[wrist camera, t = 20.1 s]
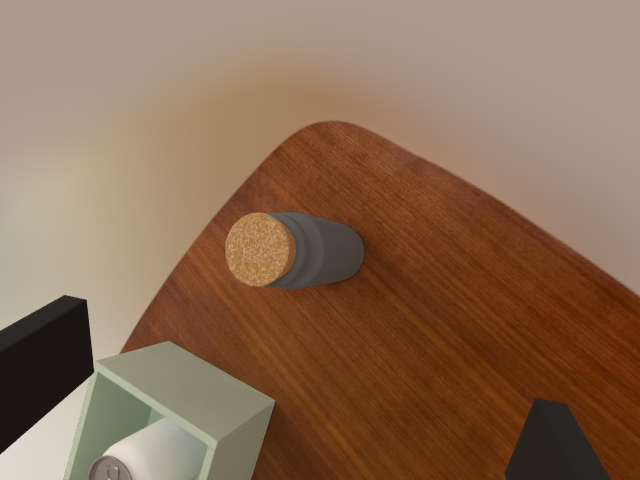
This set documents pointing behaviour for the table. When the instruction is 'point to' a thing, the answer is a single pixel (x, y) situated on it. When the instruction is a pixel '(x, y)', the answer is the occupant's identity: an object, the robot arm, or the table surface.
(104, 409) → the bin
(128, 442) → the can
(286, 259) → the bottle
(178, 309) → the table surface
